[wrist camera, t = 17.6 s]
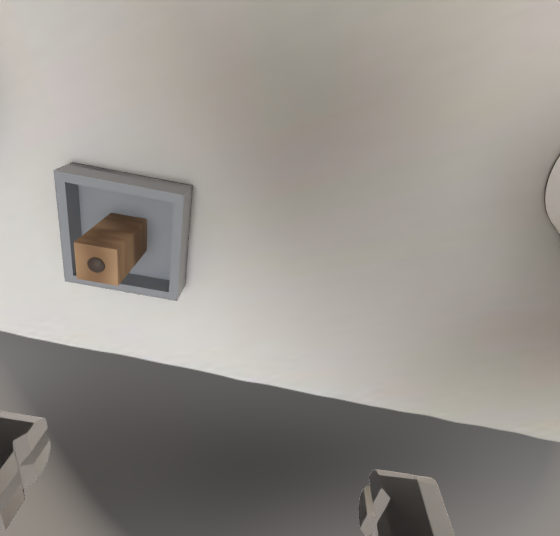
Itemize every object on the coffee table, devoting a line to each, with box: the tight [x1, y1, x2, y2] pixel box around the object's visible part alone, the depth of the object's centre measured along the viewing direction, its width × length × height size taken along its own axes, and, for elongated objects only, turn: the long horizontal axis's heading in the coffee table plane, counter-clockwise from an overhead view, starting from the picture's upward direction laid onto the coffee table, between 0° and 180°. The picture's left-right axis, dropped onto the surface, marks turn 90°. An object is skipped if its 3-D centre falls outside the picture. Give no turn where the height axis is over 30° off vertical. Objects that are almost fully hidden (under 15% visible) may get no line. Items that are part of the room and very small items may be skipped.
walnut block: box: [74, 213, 147, 286], centre depth 39 cm, size 4×4×8 cm
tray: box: [54, 162, 193, 301], centre depth 42 cm, size 13×13×4 cm
